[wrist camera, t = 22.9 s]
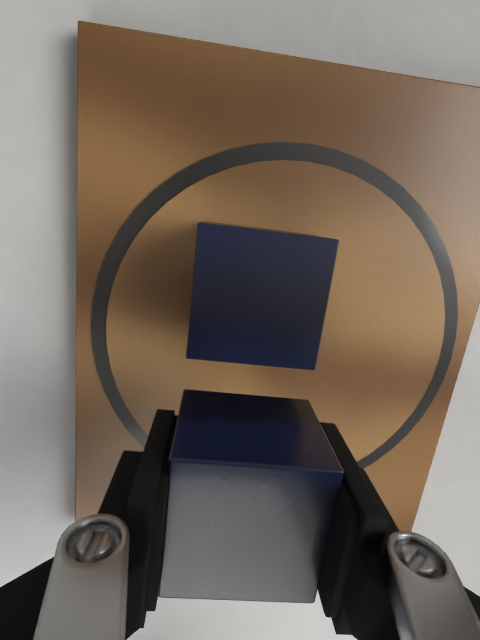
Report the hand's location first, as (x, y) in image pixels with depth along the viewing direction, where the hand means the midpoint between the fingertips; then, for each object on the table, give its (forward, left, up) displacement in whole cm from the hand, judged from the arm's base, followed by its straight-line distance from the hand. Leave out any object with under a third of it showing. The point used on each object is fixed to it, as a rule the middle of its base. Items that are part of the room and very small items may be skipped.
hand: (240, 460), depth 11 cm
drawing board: (-3, +1, -5) cm, 6 cm away
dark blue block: (0, 0, -1) cm, 1 cm away
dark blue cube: (-5, 0, -4) cm, 6 cm away
